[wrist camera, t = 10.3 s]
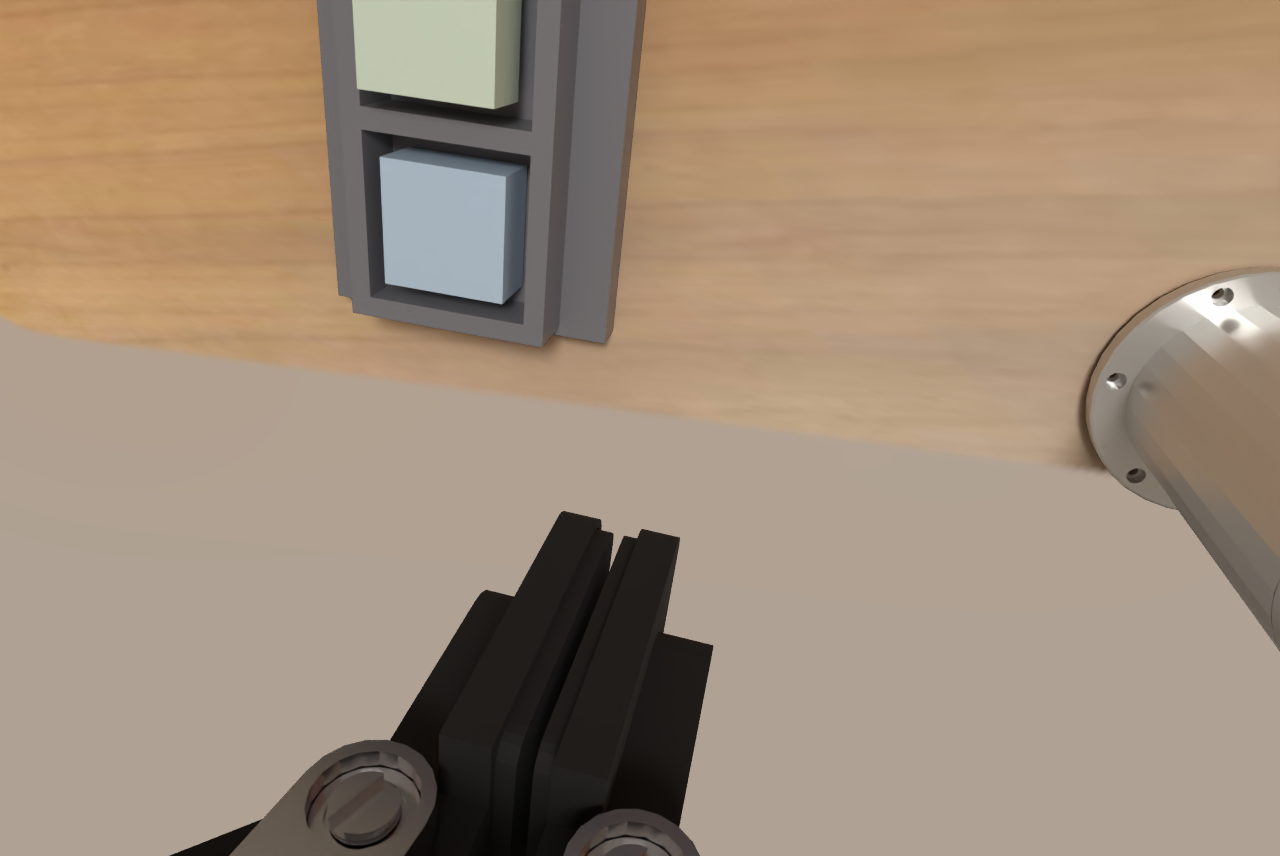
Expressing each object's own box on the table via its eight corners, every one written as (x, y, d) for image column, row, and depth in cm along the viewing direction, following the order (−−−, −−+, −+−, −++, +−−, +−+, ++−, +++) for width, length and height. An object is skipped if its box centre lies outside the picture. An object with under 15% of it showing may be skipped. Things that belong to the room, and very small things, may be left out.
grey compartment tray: (685, -393, 30) (663, -461, 26) (613, 330, 44) (590, 365, 39) (313, -418, 32) (232, -486, 27) (356, 284, 46) (308, 313, 41)
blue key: (527, 165, 38) (505, 176, 36) (522, 285, 41) (502, 304, 38) (408, 146, 39) (379, 156, 36) (412, 266, 42) (385, 283, 39)
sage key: (523, -56, 32) (497, -62, 30) (518, 101, 35) (494, 109, 33) (384, -73, 33) (347, -81, 31) (390, 83, 36) (357, 88, 33)
